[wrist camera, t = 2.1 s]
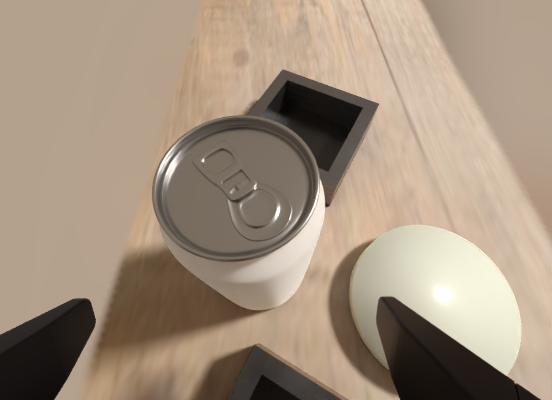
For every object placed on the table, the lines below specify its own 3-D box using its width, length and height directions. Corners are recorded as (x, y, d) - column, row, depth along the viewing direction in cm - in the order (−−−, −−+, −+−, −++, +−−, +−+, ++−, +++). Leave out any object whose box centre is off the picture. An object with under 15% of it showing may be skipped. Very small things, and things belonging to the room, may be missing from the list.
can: (251, 333, 18) (206, 327, 7) (199, 257, 20) (105, 167, 9) (324, 269, 20) (375, 189, 9) (268, 206, 22) (254, 82, 11)
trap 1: (328, 206, 22) (335, 188, 19) (233, 162, 24) (227, 140, 21) (368, 128, 25) (379, 103, 23) (282, 95, 27) (282, 69, 25)
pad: (487, 429, 16) (507, 438, 14) (325, 334, 18) (328, 334, 16) (514, 272, 19) (531, 267, 18) (377, 210, 22) (383, 202, 20)
